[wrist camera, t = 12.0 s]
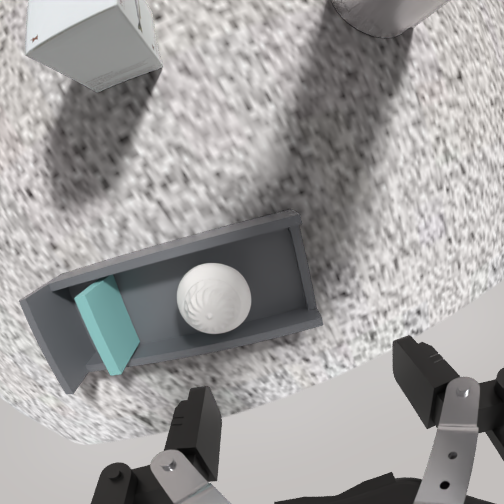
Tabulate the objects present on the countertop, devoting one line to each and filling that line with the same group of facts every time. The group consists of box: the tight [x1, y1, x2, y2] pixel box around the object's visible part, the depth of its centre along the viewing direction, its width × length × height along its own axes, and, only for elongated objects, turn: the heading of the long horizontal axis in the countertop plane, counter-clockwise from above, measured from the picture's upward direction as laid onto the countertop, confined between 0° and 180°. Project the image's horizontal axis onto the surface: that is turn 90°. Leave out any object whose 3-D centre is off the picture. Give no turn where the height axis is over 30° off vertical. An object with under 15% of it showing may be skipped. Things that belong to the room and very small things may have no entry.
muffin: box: [177, 263, 251, 334], centre depth 25 cm, size 6×6×7 cm
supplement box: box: [25, 0, 163, 92], centre depth 18 cm, size 7×7×13 cm
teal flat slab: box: [74, 274, 140, 375], centre depth 26 cm, size 1×8×6 cm, turn 15°
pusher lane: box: [19, 209, 323, 394], centre depth 26 cm, size 25×10×8 cm, turn 105°
